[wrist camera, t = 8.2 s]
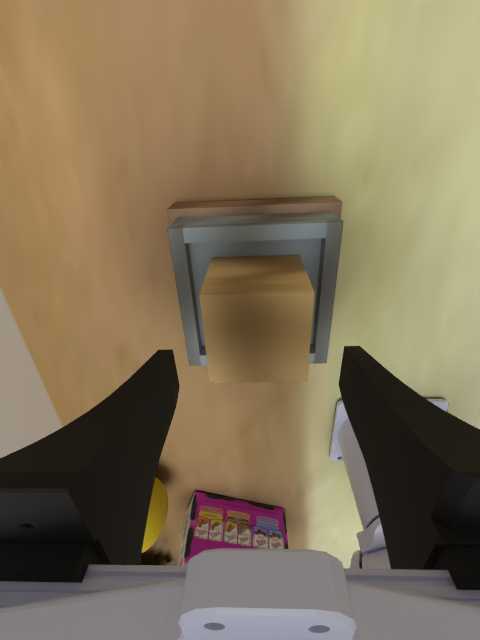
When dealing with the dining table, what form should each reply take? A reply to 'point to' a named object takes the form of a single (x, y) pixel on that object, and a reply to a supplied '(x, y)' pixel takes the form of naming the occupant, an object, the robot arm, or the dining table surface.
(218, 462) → the dining table surface
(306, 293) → the wooden block
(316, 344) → the grey storage bin
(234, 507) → the candy bar box
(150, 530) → the lemon
